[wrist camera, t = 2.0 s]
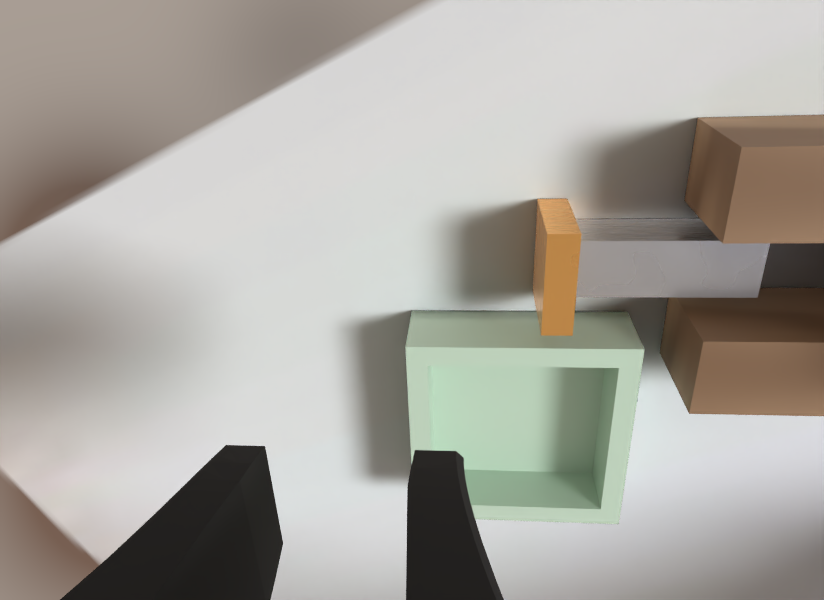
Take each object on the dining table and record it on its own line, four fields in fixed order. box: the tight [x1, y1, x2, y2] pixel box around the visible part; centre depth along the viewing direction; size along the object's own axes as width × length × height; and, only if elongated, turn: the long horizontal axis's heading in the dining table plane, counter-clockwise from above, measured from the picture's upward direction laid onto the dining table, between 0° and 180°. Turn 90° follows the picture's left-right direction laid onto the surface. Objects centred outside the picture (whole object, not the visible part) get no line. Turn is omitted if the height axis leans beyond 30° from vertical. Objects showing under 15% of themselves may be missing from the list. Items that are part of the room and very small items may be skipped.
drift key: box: [533, 199, 770, 336], centre depth 17 cm, size 3×6×3 cm, turn 92°
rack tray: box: [405, 311, 645, 524], centre depth 20 cm, size 6×6×2 cm
